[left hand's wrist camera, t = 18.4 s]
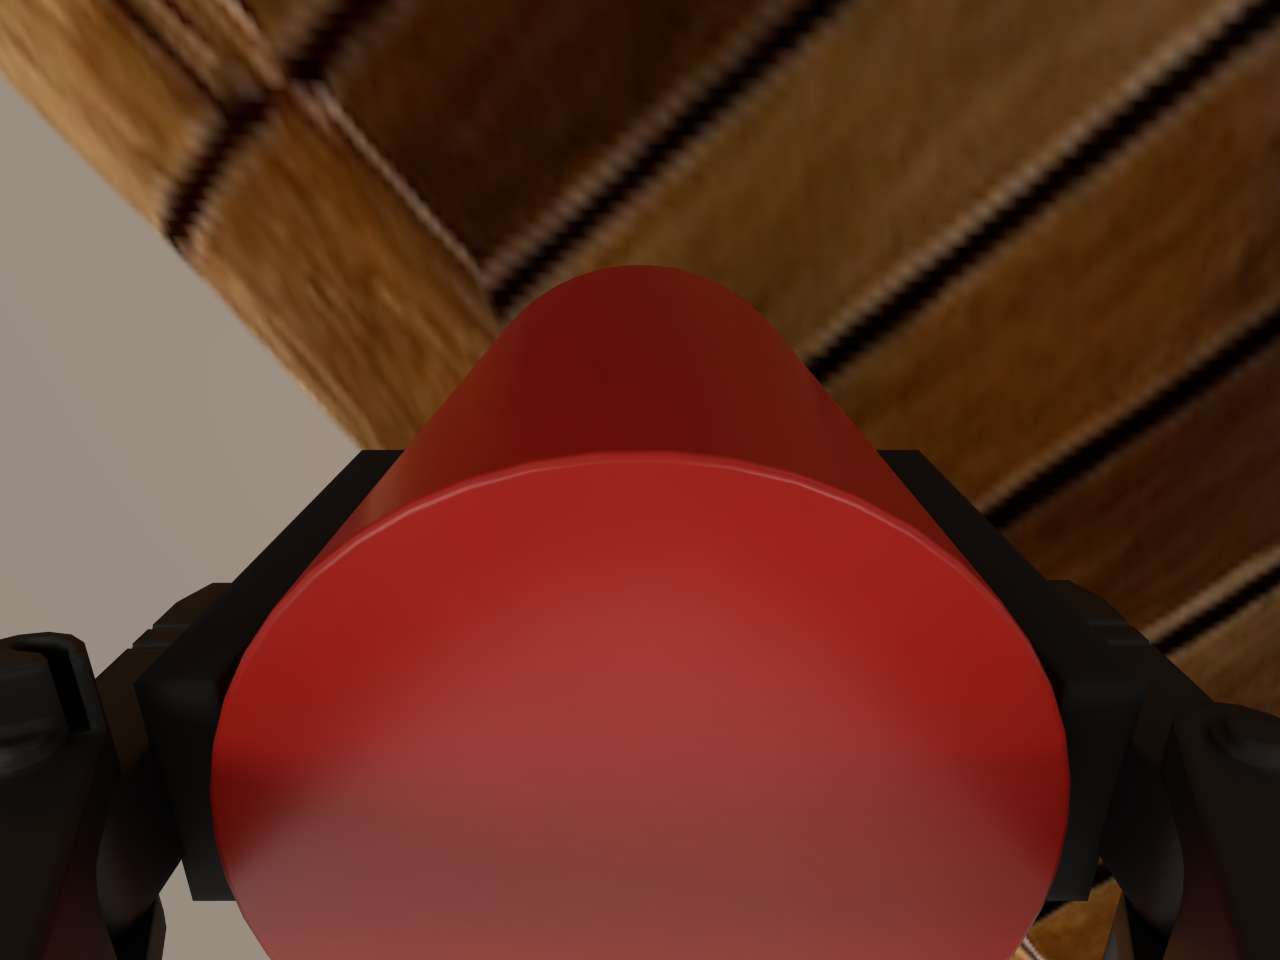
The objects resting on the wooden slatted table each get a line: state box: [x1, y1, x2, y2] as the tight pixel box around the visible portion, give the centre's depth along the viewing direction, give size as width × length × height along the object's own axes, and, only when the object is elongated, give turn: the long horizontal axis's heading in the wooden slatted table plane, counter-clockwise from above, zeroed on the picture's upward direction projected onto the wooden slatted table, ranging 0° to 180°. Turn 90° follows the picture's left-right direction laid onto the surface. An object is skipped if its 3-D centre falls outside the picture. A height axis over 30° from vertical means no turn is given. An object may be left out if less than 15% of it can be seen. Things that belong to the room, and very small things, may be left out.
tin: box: [210, 265, 1071, 960], centre depth 13 cm, size 8×8×12 cm
